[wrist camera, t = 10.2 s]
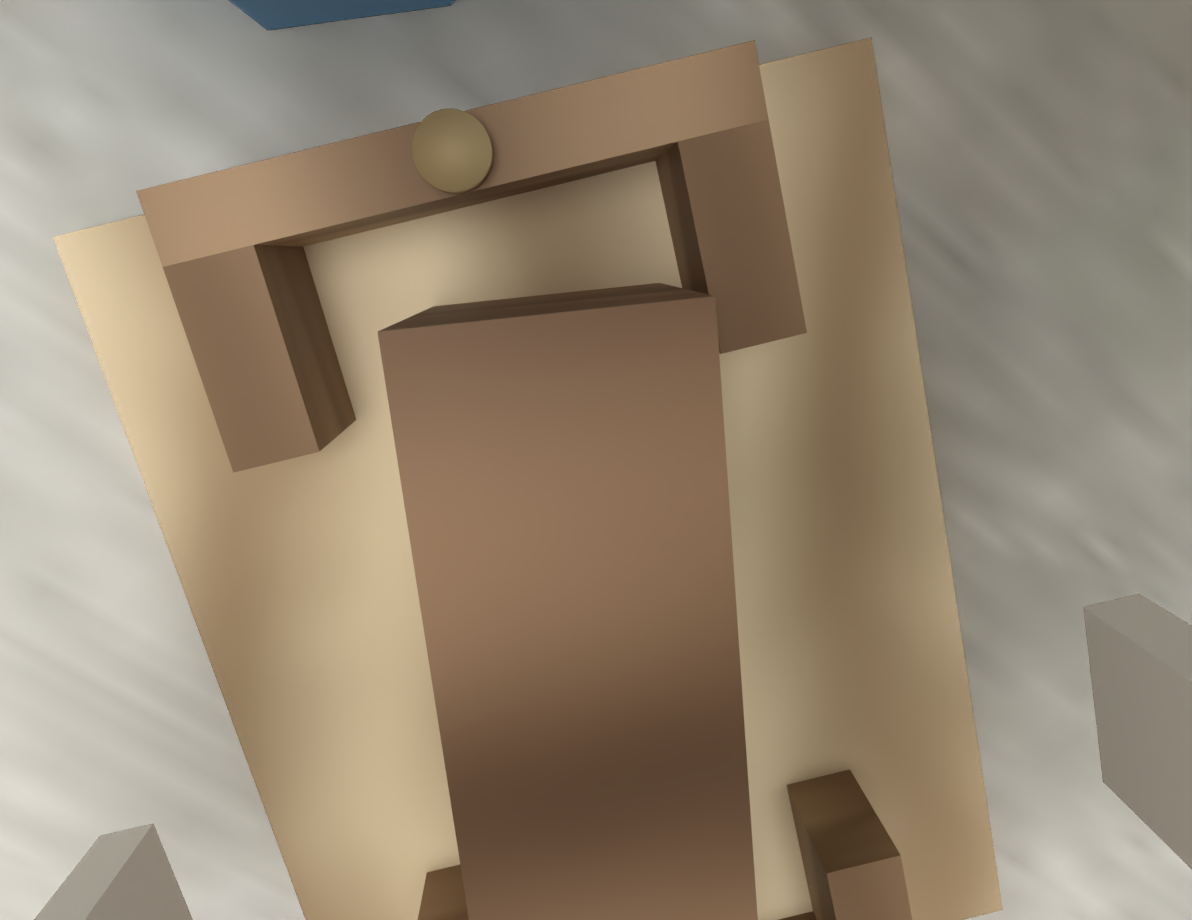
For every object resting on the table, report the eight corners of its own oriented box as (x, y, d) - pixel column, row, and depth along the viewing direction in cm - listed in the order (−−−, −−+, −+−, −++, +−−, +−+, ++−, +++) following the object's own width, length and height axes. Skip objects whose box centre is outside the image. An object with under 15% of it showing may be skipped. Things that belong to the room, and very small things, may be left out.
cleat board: (853, 49, 18) (956, -20, 13) (982, 881, 22) (1091, 1037, 18) (79, 237, 18) (-77, 232, 13) (368, 1031, 22) (323, 1224, 18)
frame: (430, 306, 18) (372, 331, 12) (662, 282, 18) (719, 295, 12) (515, 910, 21) (503, 1167, 15) (711, 886, 21) (775, 1131, 15)
